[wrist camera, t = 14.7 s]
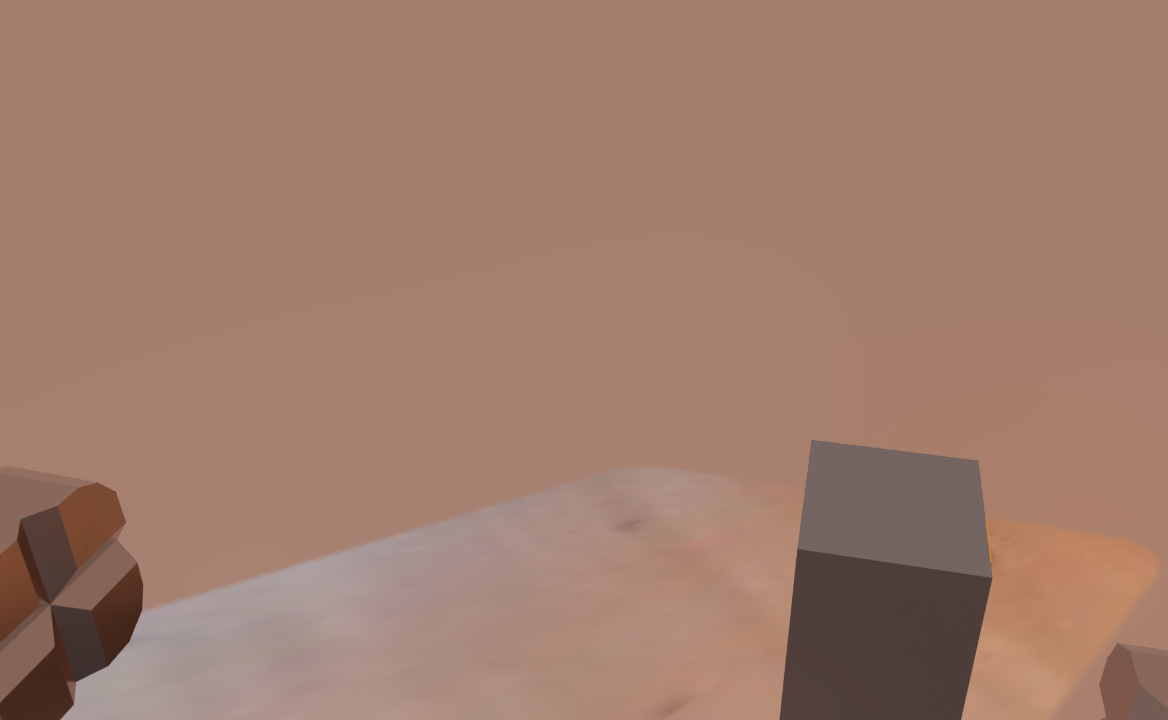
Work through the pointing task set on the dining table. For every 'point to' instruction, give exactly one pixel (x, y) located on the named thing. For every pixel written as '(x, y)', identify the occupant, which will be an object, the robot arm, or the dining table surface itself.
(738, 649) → the dining table surface
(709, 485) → the dining table surface
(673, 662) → the dining table surface
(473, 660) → the dining table surface
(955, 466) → the tall taupe pillar
